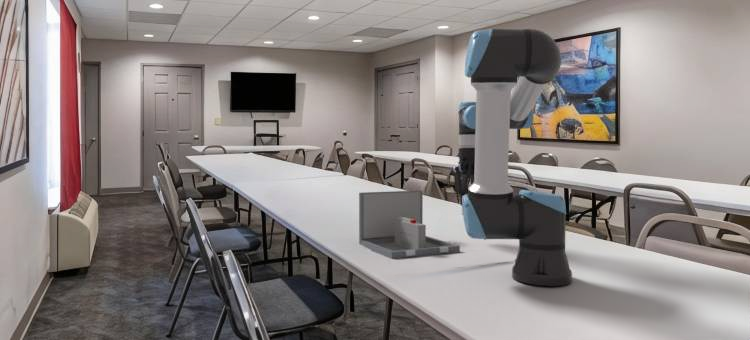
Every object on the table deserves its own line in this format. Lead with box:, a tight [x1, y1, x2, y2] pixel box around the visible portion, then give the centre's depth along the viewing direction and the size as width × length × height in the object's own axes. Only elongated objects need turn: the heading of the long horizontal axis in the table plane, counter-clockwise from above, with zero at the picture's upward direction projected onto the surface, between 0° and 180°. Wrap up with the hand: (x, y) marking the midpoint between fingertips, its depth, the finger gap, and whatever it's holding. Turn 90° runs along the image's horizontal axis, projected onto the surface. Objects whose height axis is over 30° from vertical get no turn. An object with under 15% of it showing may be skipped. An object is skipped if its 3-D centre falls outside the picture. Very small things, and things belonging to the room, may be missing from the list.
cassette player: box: [394, 217, 427, 250], centre depth 166 cm, size 16×3×10 cm, turn 26°
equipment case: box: [358, 189, 461, 260], centre depth 167 cm, size 24×24×18 cm
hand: (469, 214), depth 177 cm, fingers open, 3 cm apart
